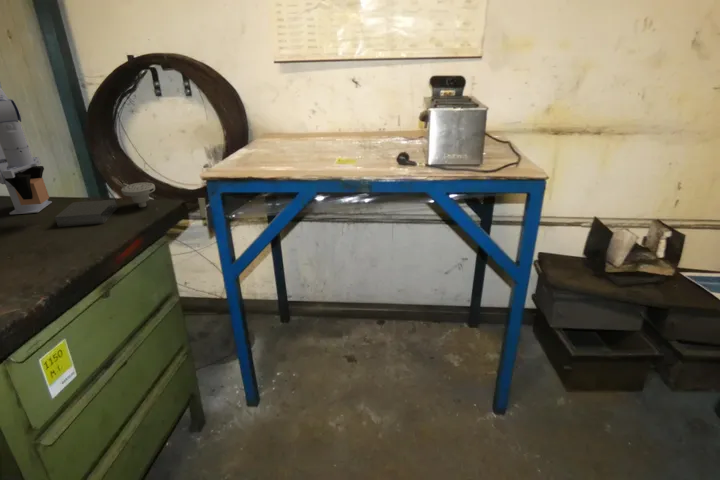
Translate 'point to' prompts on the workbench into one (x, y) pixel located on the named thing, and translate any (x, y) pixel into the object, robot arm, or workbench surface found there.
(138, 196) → the showerhead
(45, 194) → the terracotta block
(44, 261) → the workbench surface
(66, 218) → the steel base
